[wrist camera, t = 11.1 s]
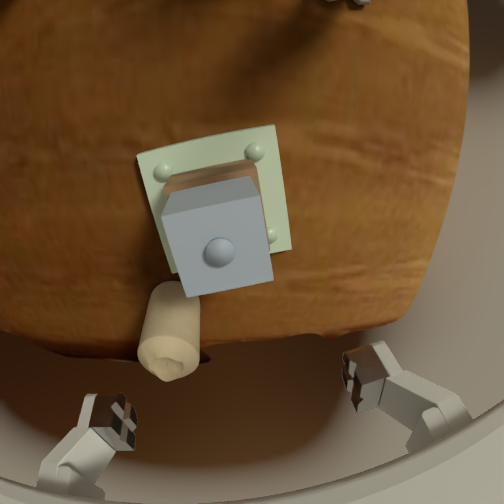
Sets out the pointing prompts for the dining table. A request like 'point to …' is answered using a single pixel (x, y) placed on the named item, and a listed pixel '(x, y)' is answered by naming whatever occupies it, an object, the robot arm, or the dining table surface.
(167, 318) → the candle
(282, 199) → the plate
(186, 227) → the blue brick
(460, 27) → the dining table surface
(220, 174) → the base brick
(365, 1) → the figurine
